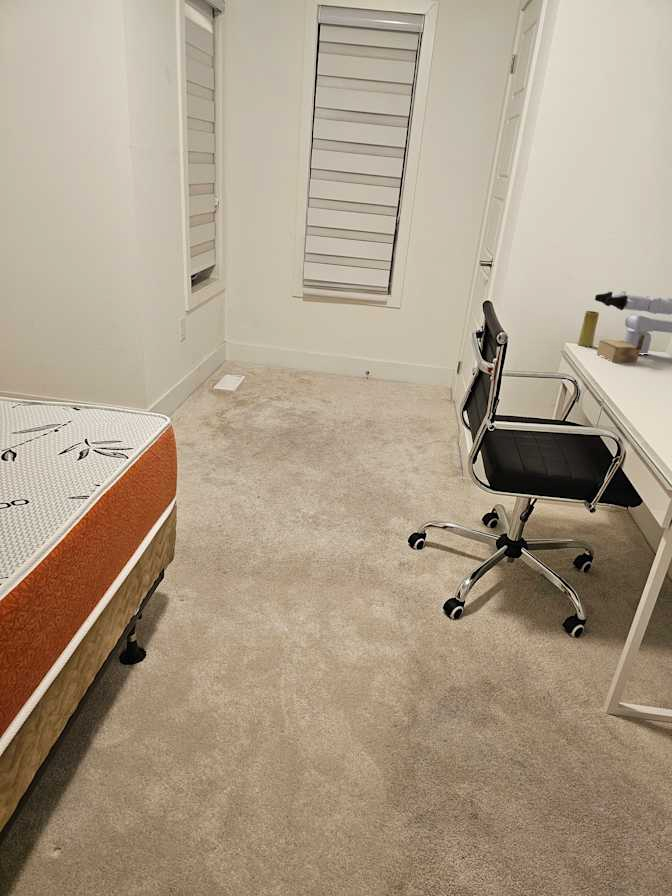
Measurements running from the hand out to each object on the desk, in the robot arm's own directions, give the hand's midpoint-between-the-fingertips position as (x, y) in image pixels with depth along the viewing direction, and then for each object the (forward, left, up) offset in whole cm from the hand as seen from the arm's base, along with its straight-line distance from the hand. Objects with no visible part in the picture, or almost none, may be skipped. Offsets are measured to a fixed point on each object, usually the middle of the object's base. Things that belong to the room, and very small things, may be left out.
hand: (601, 299), depth 241 cm
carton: (-6, +9, -22) cm, 24 cm away
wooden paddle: (-6, +16, -21) cm, 27 cm away
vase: (-5, -12, -22) cm, 26 cm away
